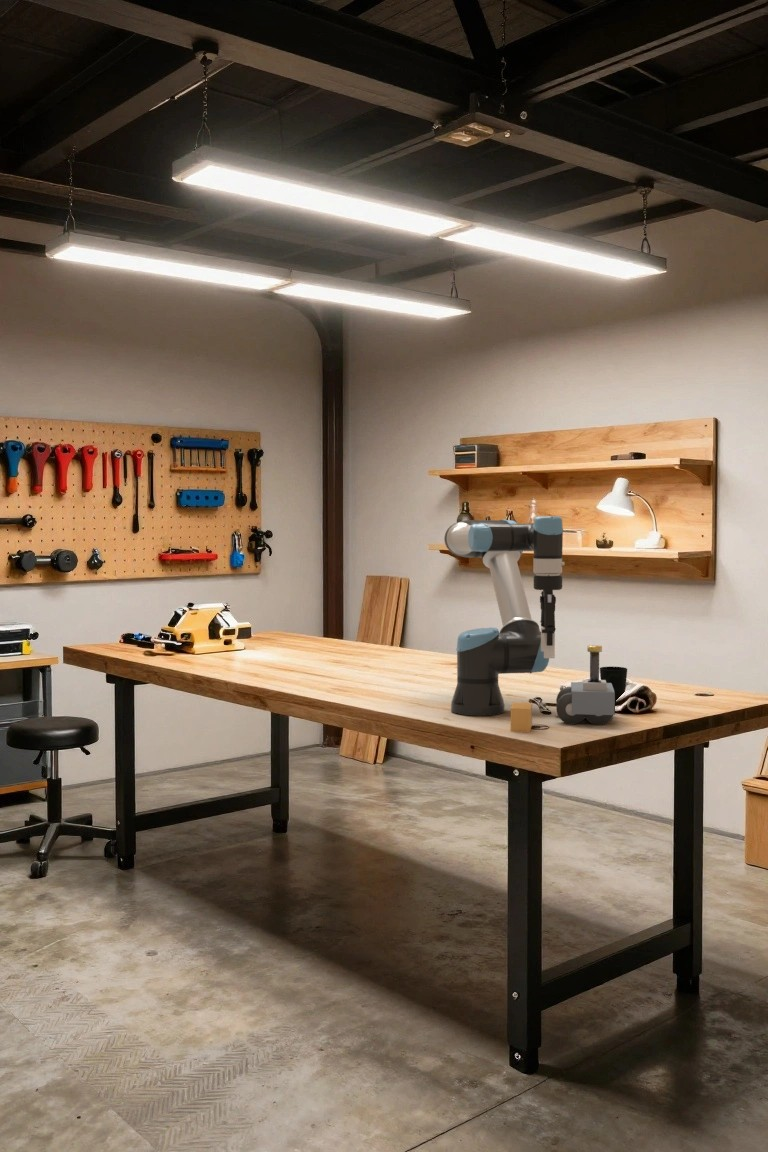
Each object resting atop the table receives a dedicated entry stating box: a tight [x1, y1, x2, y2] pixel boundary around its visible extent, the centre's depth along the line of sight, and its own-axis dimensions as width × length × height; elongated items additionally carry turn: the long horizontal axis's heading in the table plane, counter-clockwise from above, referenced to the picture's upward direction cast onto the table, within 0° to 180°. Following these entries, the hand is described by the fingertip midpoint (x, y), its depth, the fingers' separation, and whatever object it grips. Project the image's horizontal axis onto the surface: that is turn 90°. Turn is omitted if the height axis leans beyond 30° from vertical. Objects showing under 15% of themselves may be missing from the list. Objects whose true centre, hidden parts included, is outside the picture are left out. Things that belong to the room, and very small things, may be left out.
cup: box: [599, 666, 628, 704], centre depth 292 cm, size 8×8×12 cm
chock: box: [510, 701, 533, 733], centre depth 268 cm, size 5×9×6 cm, turn 169°
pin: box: [586, 644, 603, 683], centre depth 274 cm, size 4×4×11 cm
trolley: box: [555, 679, 616, 726], centre depth 278 cm, size 15×16×11 cm
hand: (547, 654), depth 272 cm, fingers open, 13 cm apart
